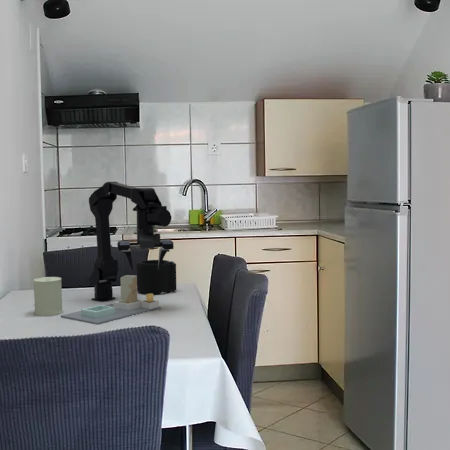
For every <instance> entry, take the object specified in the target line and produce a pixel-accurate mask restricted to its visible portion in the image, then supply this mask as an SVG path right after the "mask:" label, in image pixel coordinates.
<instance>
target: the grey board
mask: <svg viewBox="0 0 450 450" xmlns="http://www.w3.org/2000/svg"><path fill="white" fill-rule="evenodd" d="M143 301H146V300H145V299H139V298H137V302H133V303H129V304H127V303H121V299H120V300H115V301H113V302H112V303H109V304H106V305H103V304H98V305H95V306H90V307H86V308H81V309H80V310H79V311H74V312H70V313H66V314H61V315H60V318H62V319H67V320H72V321H75V322H76V321H77V322H81V323H82V322H84V323H85V324H87V323H88V324H92V325H98V326H99V325H102V324H105V323H106V324H107V323H110V321H111V322H113V321H114V320H115V321H117V320H118V321H119V320H121V319H125V318H129V316H130V317H133V316H132V315H134V316H137V315H136V314H138V315H140V314H139V313H142V314H144V313H143V312H145V313H149V312H153V311H157V310H160V309H161V306H159V307H157V308H153V309H146V308H141V302H143ZM152 310H153V311H152ZM148 311H149V312H148Z"/></svg>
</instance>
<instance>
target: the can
mask: <svg viewBox="0 0 450 450" xmlns="http://www.w3.org/2000/svg"><path fill="white" fill-rule="evenodd" d="M32 280H33V291H34V292H33V294H34V295H33V296H34V297H33V298H34V300H33V301H34V313H33V314H34V315H35V316H39V317H49V316H51V317H52V316H57V315H60V314H61V315H62V313H63V312H64V310H63V297H62V296H63V294H62V293H63V292H62V277H59V276H45V277H38V278H34V279H32Z"/></svg>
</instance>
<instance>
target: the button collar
mask: <svg viewBox="0 0 450 450" xmlns="http://www.w3.org/2000/svg"><path fill="white" fill-rule="evenodd" d="M153 301H154V302H152V303H148V302H146V300H145V301H143V302H141V308H146V309H153V308H157V307H160V304H159V303H160V301H159V300H154V299H153Z"/></svg>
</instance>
